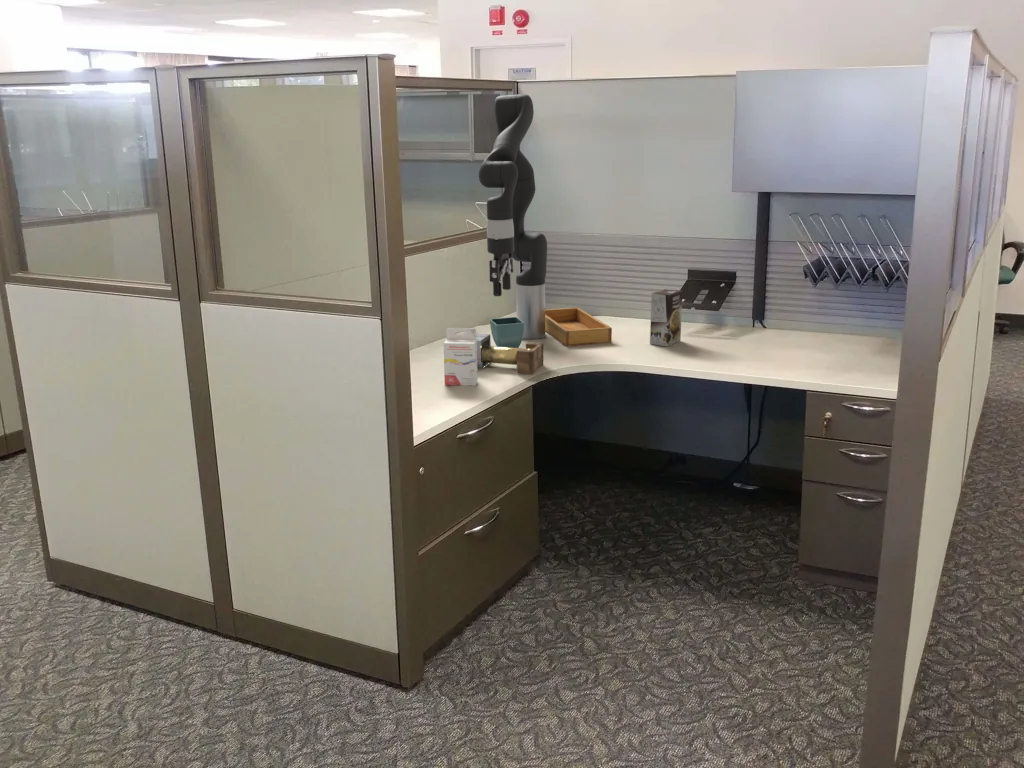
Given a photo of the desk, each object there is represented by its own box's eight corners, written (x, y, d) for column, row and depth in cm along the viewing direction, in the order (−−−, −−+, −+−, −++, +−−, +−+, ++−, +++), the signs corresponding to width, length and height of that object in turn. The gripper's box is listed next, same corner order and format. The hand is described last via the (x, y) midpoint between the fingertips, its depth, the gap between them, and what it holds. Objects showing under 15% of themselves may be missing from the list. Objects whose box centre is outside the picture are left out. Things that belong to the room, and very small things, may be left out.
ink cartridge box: (444, 385, 243) (442, 331, 239) (446, 380, 248) (444, 327, 244) (476, 385, 243) (474, 331, 239) (478, 380, 248) (476, 327, 243)
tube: (476, 364, 260) (476, 347, 258) (483, 360, 264) (482, 342, 263) (530, 368, 255) (530, 350, 253) (535, 364, 259) (535, 346, 258)
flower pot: (496, 353, 275) (496, 324, 272) (489, 347, 283) (489, 318, 280) (524, 351, 277) (524, 322, 275) (517, 344, 285) (516, 316, 283)
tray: (611, 344, 286) (611, 326, 285) (565, 347, 282) (565, 329, 281) (578, 323, 315) (578, 307, 313) (536, 326, 311) (536, 310, 309)
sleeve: (465, 360, 268) (464, 332, 265) (490, 362, 265) (490, 334, 263) (455, 367, 261) (454, 338, 258) (481, 369, 258) (480, 340, 256)
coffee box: (667, 347, 280) (669, 295, 275) (649, 344, 284) (650, 292, 279) (681, 341, 287) (683, 290, 282) (663, 338, 291) (664, 288, 286)
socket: (528, 364, 263) (528, 342, 261) (543, 365, 262) (543, 343, 260) (516, 373, 254) (516, 350, 252) (532, 374, 252) (532, 352, 250)
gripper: (495, 231, 261) (497, 287, 266) (479, 239, 248) (481, 297, 253) (520, 231, 259) (522, 288, 264) (505, 239, 246) (507, 298, 251)
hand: (502, 292), depth 258 cm, fingers open, 8 cm apart
